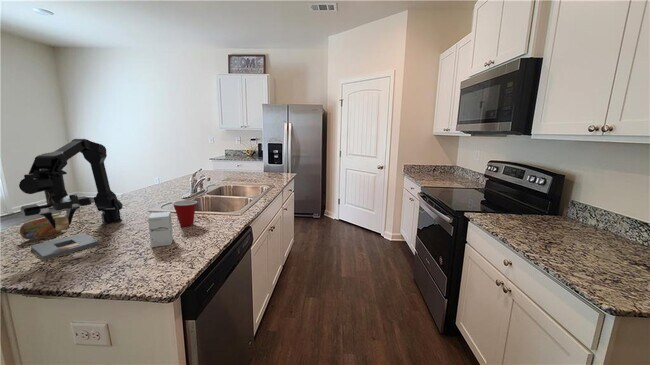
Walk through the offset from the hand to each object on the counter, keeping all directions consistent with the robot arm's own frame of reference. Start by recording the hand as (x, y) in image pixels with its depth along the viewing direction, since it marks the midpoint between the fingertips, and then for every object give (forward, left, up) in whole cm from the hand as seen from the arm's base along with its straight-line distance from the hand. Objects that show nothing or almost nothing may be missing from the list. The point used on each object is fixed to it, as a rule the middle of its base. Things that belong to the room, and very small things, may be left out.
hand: (62, 226), depth 104 cm
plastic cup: (-41, +16, -9) cm, 45 cm away
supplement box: (-23, +28, -9) cm, 37 cm away
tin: (+1, -22, -9) cm, 24 cm away
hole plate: (0, 0, -9) cm, 9 cm away
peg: (0, 0, -1) cm, 1 cm away
